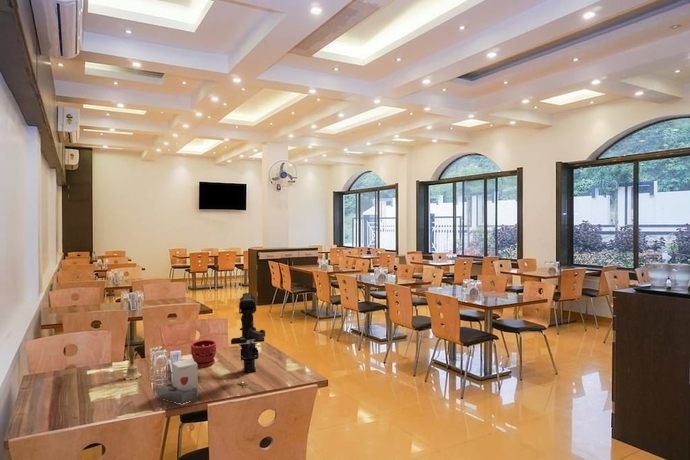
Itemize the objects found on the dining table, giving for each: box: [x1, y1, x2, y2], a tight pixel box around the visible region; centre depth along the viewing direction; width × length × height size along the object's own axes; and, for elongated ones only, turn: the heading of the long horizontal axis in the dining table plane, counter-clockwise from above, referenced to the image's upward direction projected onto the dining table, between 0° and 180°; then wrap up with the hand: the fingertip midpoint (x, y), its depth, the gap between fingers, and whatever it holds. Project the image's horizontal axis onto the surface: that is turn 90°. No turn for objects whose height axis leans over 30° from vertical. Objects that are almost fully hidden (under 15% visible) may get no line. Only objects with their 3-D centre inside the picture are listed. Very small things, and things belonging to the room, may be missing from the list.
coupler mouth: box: [157, 381, 198, 404], centre depth 210 cm, size 8×17×6 cm, turn 56°
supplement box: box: [171, 358, 199, 397], centre depth 213 cm, size 9×9×15 cm
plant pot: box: [190, 339, 217, 368], centre depth 258 cm, size 13×13×12 cm
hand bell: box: [124, 345, 142, 378], centre depth 240 cm, size 8×8×16 cm
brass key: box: [237, 380, 249, 389], centre depth 225 cm, size 8×3×1 cm, turn 37°
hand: (248, 358), depth 229 cm, fingers closed
